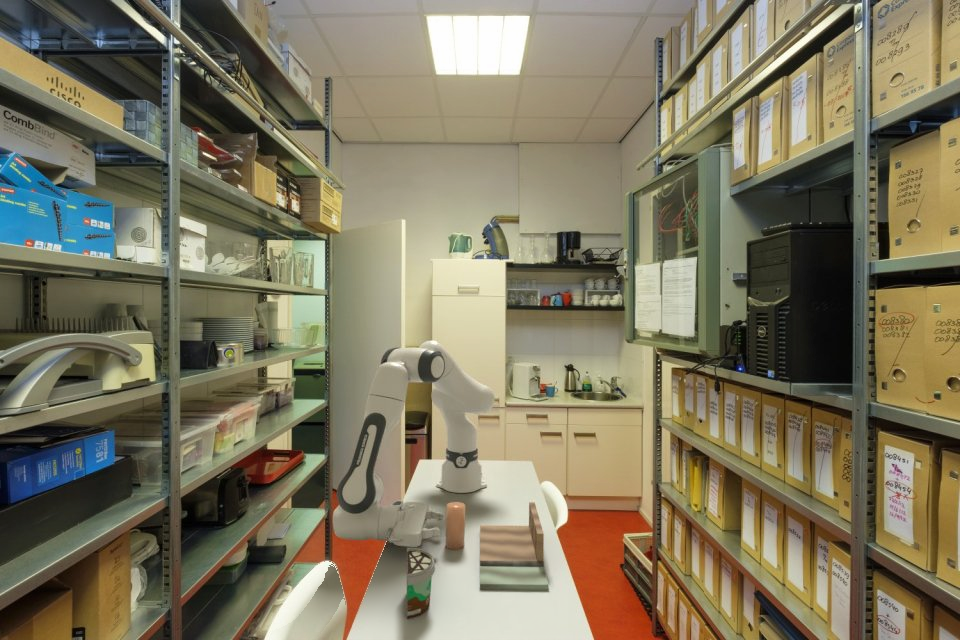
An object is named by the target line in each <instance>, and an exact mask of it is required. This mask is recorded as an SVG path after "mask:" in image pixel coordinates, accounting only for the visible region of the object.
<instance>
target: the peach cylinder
mask: <svg viewBox="0 0 960 640" xmlns="http://www.w3.org/2000/svg"><path fill="white" fill-rule="evenodd" d="M445 514H446V517H445V521H446V522H445V547H446V548H447V549H450V550H453V551H454V550H455V551H456V550H461V549H463V548H464V547H465V534H466V533H465V527H466V504H465V503H463V502H460V501H452V502H448V503H447V504H446V513H445Z"/></svg>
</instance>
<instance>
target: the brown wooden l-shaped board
mask: <svg viewBox="0 0 960 640" xmlns="http://www.w3.org/2000/svg"><path fill="white" fill-rule="evenodd" d="M479 527H480V528H479V590H518V591H519V590H520V591H521V590H524V591H525V590H527V591H528V590H531V591H534V590H535V591H539V590H540V591H544V590H545V591H548V590H549V582H548V579H547V575H546V569H545V562H544V545H545V544H544V542H545V541H544V540H545V539H544V538H545V537H544V536H545V535H544V534H545V533H544V529H543V527H542V523H541V520H540V517H539V513H538V509H537V505H536V503H535V502H534V501H531V502H528V525H489V524H488V525H486V524H485V525H479Z"/></svg>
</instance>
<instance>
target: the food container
mask: <svg viewBox="0 0 960 640" xmlns="http://www.w3.org/2000/svg"><path fill="white" fill-rule="evenodd" d="M435 565H436V564H435V560H434V558H433V556H432V554H431V553H430V552H428V551H427V550H425V549H422V548H417V547H406V618H407V619H406V620H411V619H415V618H418V617H420V616H422V615H423V614H426V612H427V611H428V610H429V609H430V603H431V592H432V578H433V575H434V574H435V571H436V566H435Z"/></svg>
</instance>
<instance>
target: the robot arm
mask: <svg viewBox="0 0 960 640" xmlns="http://www.w3.org/2000/svg"><path fill="white" fill-rule="evenodd" d="M410 383H425V384H431V383H432V385H433V388H432V390H431V400H432V401H431V402H432V404H433V405H434V406H435V407H436V408H437V409H438V411H439V412H440V413H441V415H442V418H443V420H444V423H445V426H446V427H445V428H446V443H447V445H446V449H445V461H444V462H443V463H442V464H441V476H440V479H439V480H438V481H437V482H436V484H435V485H436V487H437V488H440V489H443V490H444V491H447V492H451V493H455V494H457V493H458V494H464V493H465V494H466V493H471V492H472V493H473V492H475V491H478V490H480V489H484V488H487V487H488V485H487V482H486V480H485V478H484V477H483V470H482V468H483V467H482V466H483V465H482V464H481V462H480V461H479V460H478V458H479V457H478V456H479V450H478V445H477V443H478V441H477V439H478V438H477V437H478V430H477V426H476V424H474V423H473V422H472V421H471V420H470V419H469V418H468V416H467V414H477V415H478V414H485V413H489V412H490V411H491V410H492V409H493V407H494V405H495V401H496V400H495V394H494V393H495V392H494V391H493V389H492V388H491V386H487V385H485V384H483V383H482V382H479V381H478V380H476V379H475V378H474V377H472V376H470V375H469V374H468V373H466V372H465V371H464V370H463V369H462V367H460V365H459V363H457V361H456V360H455V358H454V357H453V356H452V354H451V353H450V352H449V351H448V350H447V349H446V348H445V346H443V345H442V344H441V343H440V342H438V341H436V340H434V339H433V340H426V341H424V342H423V343H421V344H420V345H419V346H418V347H392V348H390V349H387V350H386V351H385V352H384V354H383V356H382V357H381V360H380V365H379V367H378V368H377V370H376V372H375V374H374V377H373V379H372V382H371V385H370V388H369V392H368V396H367V400H366V403H365V410H364V416H363V421H362V426H361V429H360V434H359V438H358V439H357V443H356V447H355V451H354V454H353V456H352V460H351V463H350V466H349V468H348V471H347V472H346V473H345V475H344V476H343V478H342V479H341V481H340V482H339V484H338V485H337V489H336V499H337V503H338V506H336V508H335V509H334V511H333V513H332V518H331V520H332V521H331V523H332V530H333V532H334V534H335V536H336V537H338V538H340V539H345V540H348V541H367V540H375V541H381V542H382V541H384V542H386V541H387V540H388V542H389V543H393V545H395V546H398V547H399V546H400V547H406V548H417V547H419V546H421V544H422V541H423V539H429V538H431V537H439V536H440V535H441V527H440V526H433V528H432V527H431V528H427V527H426V525H427V521H428V520H431V519H434V520H436V521H443V519H444V512H441V511H435V510H432V509H429V508H430V506H429V504H428V503H426V502H419V501H406V502H404V500H400V499H399V500H395V501H394V502H392V503H391V504H389V505H380V504H381V501H382V498H383V495H384V494H383V493H384V482H383V480H382V477H381V476H380V475H379V474H378V473H376V472H375V469H376V465H377V461H378V457H379V455H380V451H381V447H382V445H383V441H384V440H385V438H386V436H387V435H388V434H389V433H390V432H391V431H392V430H393V429H394V428H395V427H396V426H397V425H398V424H399V421H400V419H401V417H402V415H403V411H404V407H405V403H406V399H407V392H408V385H409V384H410Z"/></svg>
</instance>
